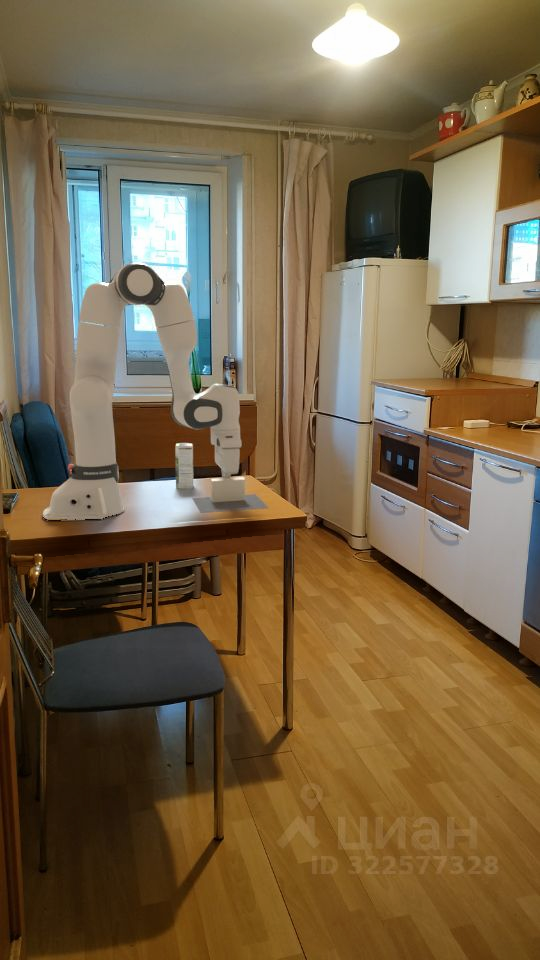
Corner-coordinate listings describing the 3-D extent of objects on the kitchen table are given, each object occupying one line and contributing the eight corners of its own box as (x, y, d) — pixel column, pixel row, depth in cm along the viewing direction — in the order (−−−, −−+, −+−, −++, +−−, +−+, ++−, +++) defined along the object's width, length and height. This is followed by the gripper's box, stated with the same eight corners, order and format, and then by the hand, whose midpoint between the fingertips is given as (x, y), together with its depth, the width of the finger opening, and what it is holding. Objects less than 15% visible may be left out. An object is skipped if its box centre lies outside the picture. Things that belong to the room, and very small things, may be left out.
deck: (211, 502, 206) (212, 481, 203) (210, 499, 207) (211, 478, 204) (244, 500, 208) (245, 479, 205) (243, 497, 210) (243, 476, 207)
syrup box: (176, 485, 231) (174, 443, 228) (194, 485, 231) (192, 442, 228) (176, 489, 225) (174, 445, 222) (194, 488, 226) (192, 445, 223)
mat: (200, 513, 194) (200, 512, 194) (192, 499, 211) (192, 498, 211) (269, 509, 199) (269, 507, 199) (255, 495, 216) (255, 494, 216)
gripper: (209, 433, 214) (210, 476, 217) (221, 443, 195) (222, 490, 198) (229, 432, 216) (229, 475, 218) (242, 442, 196) (243, 489, 199)
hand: (226, 483), depth 208 cm, fingers closed
